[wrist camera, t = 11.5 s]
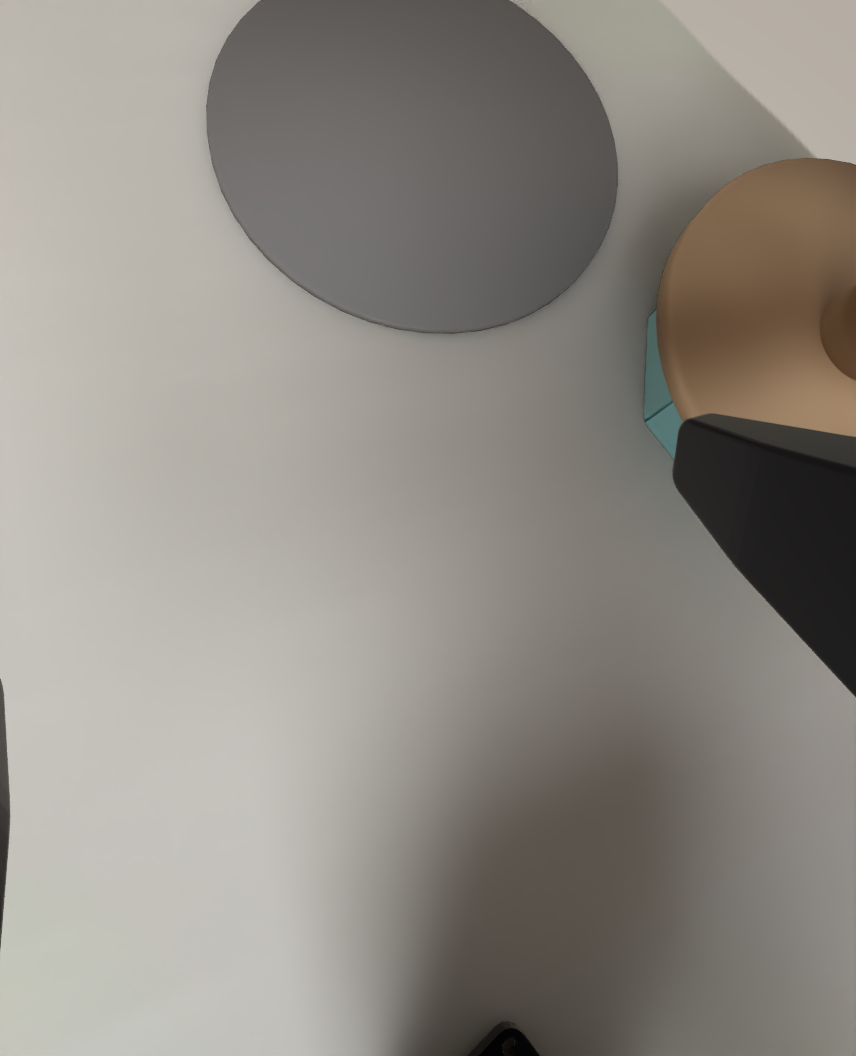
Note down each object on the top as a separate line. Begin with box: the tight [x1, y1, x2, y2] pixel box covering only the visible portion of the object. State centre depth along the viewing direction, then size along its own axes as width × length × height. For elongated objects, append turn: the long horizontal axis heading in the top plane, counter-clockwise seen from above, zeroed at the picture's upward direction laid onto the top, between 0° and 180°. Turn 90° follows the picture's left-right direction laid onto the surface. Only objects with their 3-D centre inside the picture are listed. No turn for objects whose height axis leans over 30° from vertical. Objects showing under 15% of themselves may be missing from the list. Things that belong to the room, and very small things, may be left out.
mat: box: [206, 0, 618, 334], centre depth 26 cm, size 15×15×1 cm
